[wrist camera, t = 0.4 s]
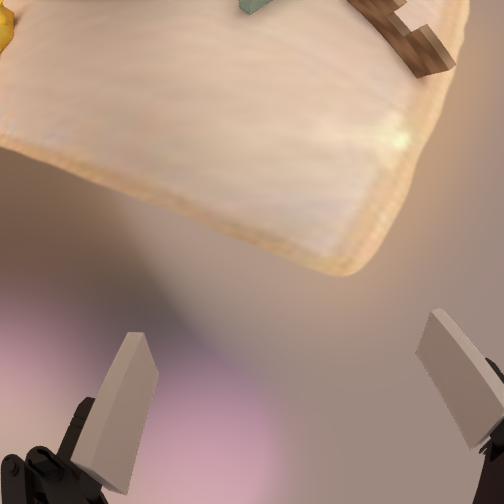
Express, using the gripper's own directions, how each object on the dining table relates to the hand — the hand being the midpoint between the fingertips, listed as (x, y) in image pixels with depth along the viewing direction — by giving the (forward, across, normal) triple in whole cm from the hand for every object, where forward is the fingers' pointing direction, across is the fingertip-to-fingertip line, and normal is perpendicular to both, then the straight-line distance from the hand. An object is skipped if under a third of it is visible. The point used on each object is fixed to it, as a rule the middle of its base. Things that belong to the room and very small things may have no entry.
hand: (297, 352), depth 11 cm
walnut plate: (+27, +19, +26) cm, 42 cm away
